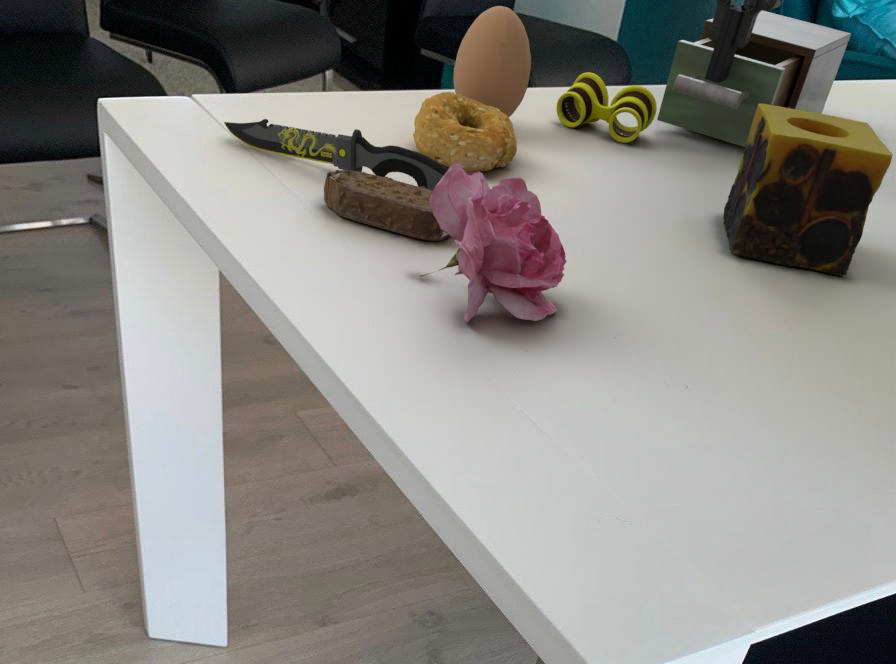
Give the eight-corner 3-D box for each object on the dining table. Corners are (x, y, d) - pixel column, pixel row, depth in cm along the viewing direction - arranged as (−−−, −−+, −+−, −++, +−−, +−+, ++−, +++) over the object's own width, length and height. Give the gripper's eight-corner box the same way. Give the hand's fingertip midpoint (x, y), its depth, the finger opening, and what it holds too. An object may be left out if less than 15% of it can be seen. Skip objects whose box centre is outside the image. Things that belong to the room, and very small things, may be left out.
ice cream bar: (336, 193, 86) (339, 159, 84) (505, 239, 83) (512, 205, 81) (309, 211, 82) (311, 176, 80) (485, 261, 79) (492, 225, 77)
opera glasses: (550, 130, 111) (557, 83, 107) (570, 111, 114) (577, 64, 110) (634, 155, 108) (644, 107, 104) (651, 135, 111) (662, 87, 107)
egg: (518, 121, 109) (540, 5, 102) (519, 142, 103) (542, 21, 96) (448, 109, 109) (465, -8, 102) (445, 130, 103) (463, 7, 96)
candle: (846, 279, 87) (898, 157, 80) (728, 256, 87) (771, 133, 81) (827, 237, 95) (873, 122, 88) (719, 216, 95) (757, 100, 88)
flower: (559, 345, 77) (621, 274, 68) (439, 365, 74) (487, 292, 65) (514, 210, 79) (568, 122, 69) (394, 223, 76) (435, 133, 66)
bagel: (411, 169, 93) (418, 113, 90) (410, 132, 101) (417, 80, 98) (518, 184, 94) (529, 129, 90) (509, 147, 102) (519, 95, 99)
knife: (221, 167, 93) (217, 107, 90) (231, 164, 94) (227, 104, 91) (453, 213, 85) (456, 149, 82) (460, 209, 86) (465, 145, 83)
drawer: (741, 158, 107) (769, 76, 101) (640, 127, 110) (662, 46, 105) (793, 126, 120) (820, 52, 115) (701, 99, 124) (723, 26, 118)
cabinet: (782, 145, 117) (816, 49, 110) (678, 113, 121) (705, 20, 114) (818, 121, 127) (851, 33, 121) (722, 93, 132) (749, 6, 125)
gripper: (888, -192, 92) (785, 92, 107) (751, -221, 96) (671, 57, 111) (869, -196, 86) (763, 103, 102) (725, -226, 91) (645, 65, 106)
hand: (715, 78), depth 107 cm, fingers closed
